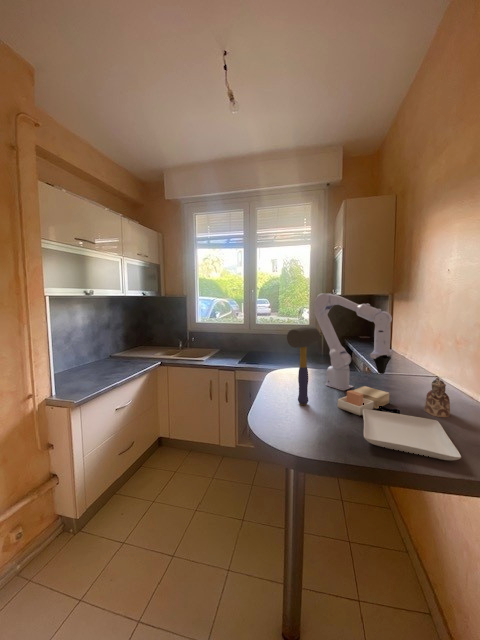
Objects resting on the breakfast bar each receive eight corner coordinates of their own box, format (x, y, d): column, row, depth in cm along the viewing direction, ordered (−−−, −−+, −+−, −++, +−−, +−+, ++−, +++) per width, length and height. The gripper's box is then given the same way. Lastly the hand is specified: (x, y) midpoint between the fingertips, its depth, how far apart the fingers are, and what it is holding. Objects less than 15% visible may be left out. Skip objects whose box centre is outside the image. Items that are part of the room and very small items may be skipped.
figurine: (423, 413, 90) (425, 380, 89) (425, 406, 95) (426, 375, 95) (449, 419, 85) (451, 384, 85) (449, 412, 91) (451, 378, 90)
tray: (337, 407, 96) (337, 399, 96) (351, 401, 101) (351, 394, 101) (359, 415, 89) (360, 407, 88) (373, 409, 94) (373, 401, 94)
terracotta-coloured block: (350, 402, 98) (346, 404, 96) (350, 390, 97) (346, 391, 96) (363, 407, 94) (359, 409, 92) (363, 394, 93) (359, 395, 92)
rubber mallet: (305, 397, 106) (305, 325, 103) (320, 403, 100) (322, 326, 98) (284, 405, 98) (285, 327, 96) (300, 411, 92) (301, 329, 90)
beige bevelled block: (351, 400, 102) (352, 390, 102) (363, 395, 107) (364, 385, 107) (377, 408, 94) (377, 398, 94) (389, 402, 99) (389, 392, 99)
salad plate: (437, 429, 80) (437, 418, 80) (462, 470, 61) (463, 457, 60) (362, 417, 89) (362, 407, 88) (363, 449, 69) (363, 437, 69)
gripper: (383, 344, 98) (382, 378, 99) (400, 340, 106) (399, 372, 108) (365, 341, 104) (364, 374, 105) (383, 338, 112) (382, 368, 113)
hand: (381, 373), depth 107 cm, fingers closed
